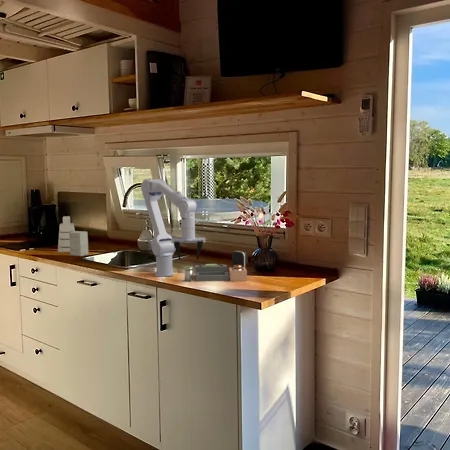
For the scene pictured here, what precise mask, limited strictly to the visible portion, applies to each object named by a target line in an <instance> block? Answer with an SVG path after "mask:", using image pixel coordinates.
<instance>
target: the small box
mask: <svg viewBox="0 0 450 450" xmlns="http://www.w3.org/2000/svg"><path fill="white" fill-rule="evenodd" d="M88 236H89V235H88V231H85V230H84V231H83V230H82V231H81V230H80V231H79V230H75V231H74V232H69V240H70V252H69V255H70V256H76V257H77V256H78V257H79V256H80V257H84V256H87V255H89V237H88Z"/></svg>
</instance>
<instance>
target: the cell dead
mask: <svg viewBox="0 0 450 450" xmlns="http://www.w3.org/2000/svg"><path fill="white" fill-rule="evenodd" d="M233 268H234V270H242V265H233Z"/></svg>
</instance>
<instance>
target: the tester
mask: <svg viewBox="0 0 450 450" xmlns="http://www.w3.org/2000/svg"><path fill="white" fill-rule="evenodd" d="M194 266H195V267H194V270H195V271H194V273H195V274H194V275H195V281H196V282H229V281H230V279H229V271H228V265H227V264H223V263H220V264H217V263H205V264H201V263H200V264H197V265H194Z"/></svg>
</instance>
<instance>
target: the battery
mask: <svg viewBox="0 0 450 450" xmlns="http://www.w3.org/2000/svg"><path fill="white" fill-rule="evenodd" d="M248 258H249V257H248V253H247V251H242V250H234V251H233V252H232V255H231V266H232V267H231V268H233V265H242V267H245V268H246V269H247V267H246V266H247V264H248V262H249V259H248Z"/></svg>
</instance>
